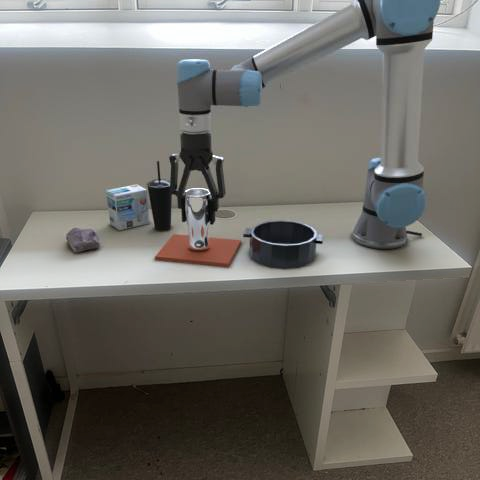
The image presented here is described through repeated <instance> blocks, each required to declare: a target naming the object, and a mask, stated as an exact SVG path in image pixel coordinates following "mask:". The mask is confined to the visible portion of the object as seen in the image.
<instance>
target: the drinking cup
mask: <svg viewBox="0 0 480 480" xmlns="http://www.w3.org/2000/svg"><path fill="white" fill-rule="evenodd" d="M156 168H157V178H154V179H151V180H149V181H148V182H146V188H147V193H148V197H149V202H150V209H151V215H152V220H153V226H154V230H155V231H158V232H167V231H169V230H171V228H172V207H173V206H172V204H173V203H172V202H173V194H170V180H168V179H167V178H161V169H160V168H161V167H160V160H156Z"/></svg>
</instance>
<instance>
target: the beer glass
mask: <svg viewBox="0 0 480 480" xmlns="http://www.w3.org/2000/svg"><path fill="white" fill-rule="evenodd" d="M184 195H185V203H184V204H185V216H186V221H185V222H186V225H187V228H188V229H187V230H188V235H189V242H188V247H189V248H190V249H192V250H205V249H208V248H209V247H210V240H209V237H210V234H209V233H210V232H209V231H210V225H211V224H210V203H209V200H210V199H211V198H212V197H211V194H210V191H209V189H207V188H202V187H201V188H200V187H196V188H195V187H194V188H189V189H187V190H186V189H185V191H184Z"/></svg>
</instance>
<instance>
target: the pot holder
mask: <svg viewBox="0 0 480 480" xmlns="http://www.w3.org/2000/svg"><path fill="white" fill-rule="evenodd" d="M209 240H210V247H209V248H208V249H205V250H192V249H190V248H189V247H188V242H189V234H188V235H187V234H177V233H173V234H172V236H171V237H170V238H169V239H168V241H166V242H165V244H164V245H163V246H162V248H161V249H159V251H158V252H157V253H156V255H155V256H154V260H155V261H163V262H172V263H173V262H175V263H183V264H194V265H205V266H214V267H222V268H229V267H230V266H231V264H232V262H233V260H234V258H235V256H236V255H237V252H238V250H239V248H240V246H241V244H242V240H241V239H233V238H221V237H210V236H209Z"/></svg>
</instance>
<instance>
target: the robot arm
mask: <svg viewBox="0 0 480 480" xmlns="http://www.w3.org/2000/svg"><path fill="white" fill-rule="evenodd" d="M440 6H441V0H351V3H350V4H349V5H347V6H345V7H344V8H341V9H340V10H338V11H336V12H334V13H332V14H330V15H328V16H327V17H325V18H323V19H321V20H318V22H315V23H314V24H311V25H309V26H308V27H306V28H304V29H303V30H300V31H299V32H296V33H295V34H293V35H291V36H289V37H288V38H285V39H284V40H281V41H280V42H277V43H276V44H274V45H272V46H271V47H268V48H266V49H265V50H263V51H261V52H259V53H257V54H255V55H254V56H251V57H250V58H248V59H246V60H244V61H242V62H240V63H236V64H235V65H233V66H232V67H231V68H230V69H221V70H219V69H212V67H211V64H210V61H209V60H207V59H198V58H189V59H181V60H179V62H178V63H177V81H176V84H177V85H176V86H177V96H178V97H177V98H178V117H179V129H180V131H181V132H180V133H179V136H180V137H179V138H180V152H179V153H172V154H171V155H169V157H168V159H169V163H170V178H169V179H170V180H169V181H170V194H172V195H174V196H176V199H177V208H178V209H179V210H181V222H182V223H186V222H187V221H186V216H185V204H184V203H185V191H186V187H187V185H188V182H189V178H190V176H191V172H192V171H193V172H194V171H198V172H201V174H202V176H203V177H204V181H205V183H206V186H207V188H208V190H209V191H210V198H211V199H210V200H209V203H210V225H212V226H213V225H214V224H215V222H216V213H217V212H218V211H219V209H220V207H219V206H220V205H219V204H220V203H219V202H220V201H219V200H220V199H223V198H224V197H225V196H226V193H227V191H226V184H225V176H224V175H225V174H224V167H223V166H224V161H225V157H224V156H217V155H214V152H213V151H212V133H211V129H212V116H211V115H212V114H211V113H212V111H211V106H216V107H217V106H224V107H226V106H227V107H228V106H230V107H244V108H248V107H259V106H260V105H261V102H262V92H263V91H262V89H264V88H266V87H268V86H269V85H272V84H274V83H276V82H278V81H280V80H281V79H284V78H287V77H288V76H290V75H292V74H293V73H296V72H298V71H300V70H301V69H303V68H306V67H308V66H309V65H312V64H314V63H316V62H318V61H319V60H321V59H323V58H325V57H327V56H329V55H331V54H333V53H335V52H337V51H340V50H341V49H343V48H345V47H347V46H349V45H351V44H353V43H355V42H357V41H359V40H362V39H363V40H365V41H369V40H371V39H373V38H375V47H376V48H377V49H378V50H379V51H380V52H381V54H382V83H381V84H382V85H381V86H382V87H381V128H380V129H381V131H380V137H381V138H380V157H374V158H372V159H371V160H370V161H369V164H368V168H367V169H366V171H367V174H366V181H365V189H364V196H363V202H362V203H363V204H362V211H361V213H360V215H359V217H358V219H357V221H356V223H355V225H354V227H353V229H352V236H351V237H352V240H353V241H354V242H356V243H357V244H359V245H361V246H364V247H367V248H371V249H375V250H393V249H399V248H401V247H404V246H405V245H406V244H407V239H408V234H409V235H412V236H413V235H414V236H417V237H418V236H419V237H422V236H423V233H422V232H417V231H412V230H407V227H408V226H411V225H413V224H414V223H416V222H417V221H418V220H420V219H421V218H422V216H423V215H424V213H425V211H426V208H427V195H426V192H425V190H424V176H425V175H424V173H425V167H424V166H423V164H421V163H420V162H419V145H420V130H421V129H420V128H421V114H422V113H421V110H422V94H423V81H424V80H423V78H424V60H425V50H426V48H427V47H428V46H429V44H430V43H431V42H432V41H433V37H434V36H433V34H434V24H435V23H434V21H435V19H436V17H437V15H438V12H439V10H440ZM180 161H182V163H183V164H184V168H183V172H182V176H181V179H180V183H179V163H180ZM211 162H213V165H214V166H215V177H216V181H217V182H216V183H217V185H216V183H215V180H214V177H213V175H212V172H211V167H210V163H211ZM178 183H179V185H178Z"/></svg>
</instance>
